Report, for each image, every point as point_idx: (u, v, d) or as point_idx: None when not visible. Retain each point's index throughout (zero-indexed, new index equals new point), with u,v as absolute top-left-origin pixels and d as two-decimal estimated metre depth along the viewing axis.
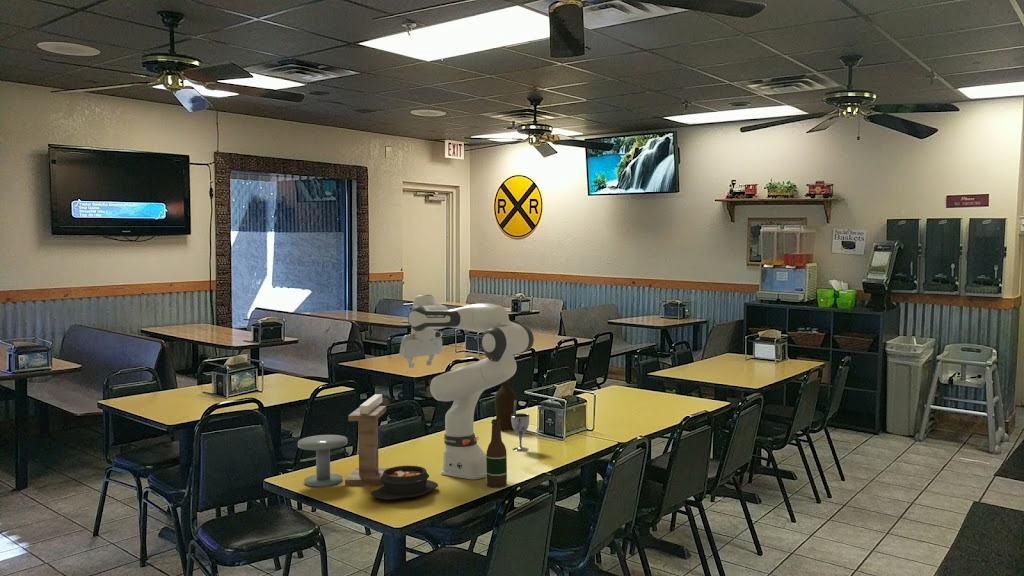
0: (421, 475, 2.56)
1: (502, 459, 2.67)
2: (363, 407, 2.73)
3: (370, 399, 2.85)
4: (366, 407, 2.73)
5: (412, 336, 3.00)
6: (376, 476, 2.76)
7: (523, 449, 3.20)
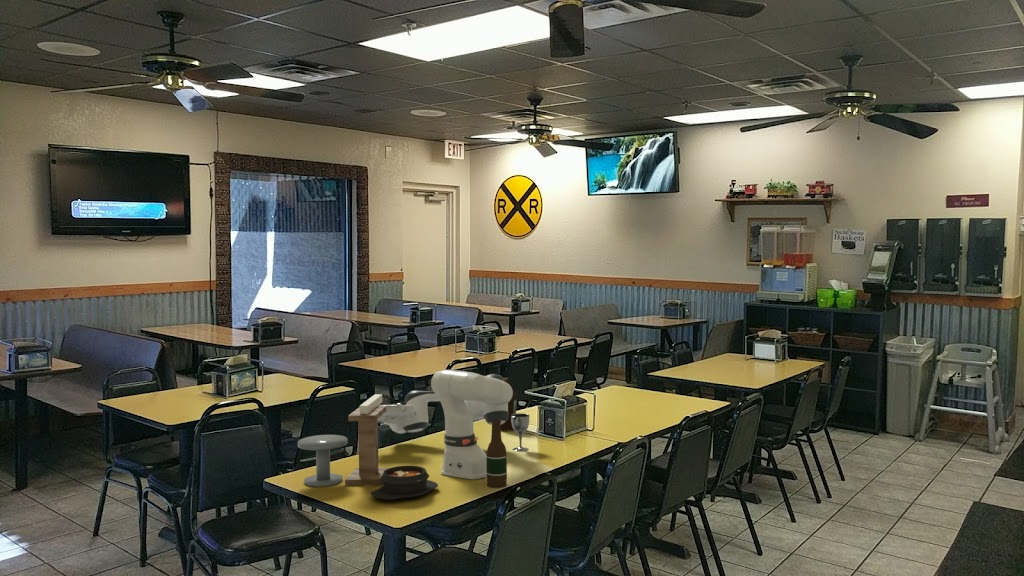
0: (421, 475, 2.56)
1: (502, 459, 2.67)
2: (363, 407, 2.73)
3: (370, 399, 2.85)
4: (366, 407, 2.73)
5: None
6: (376, 476, 2.76)
7: (523, 449, 3.20)
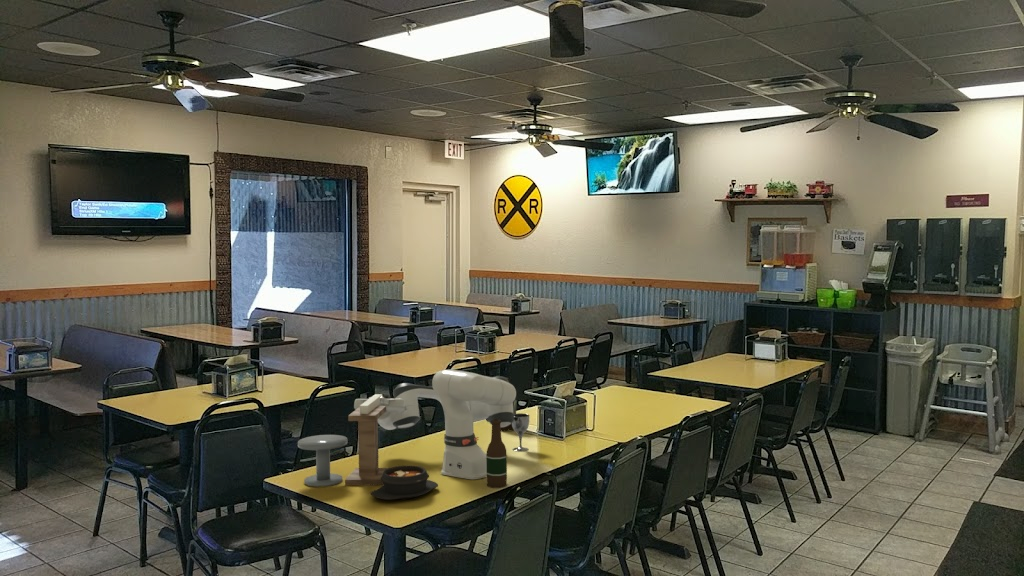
0: (421, 475, 2.56)
1: (502, 459, 2.67)
2: (363, 407, 2.73)
3: (370, 399, 2.85)
4: (366, 407, 2.73)
5: None
6: (376, 476, 2.76)
7: (523, 449, 3.20)
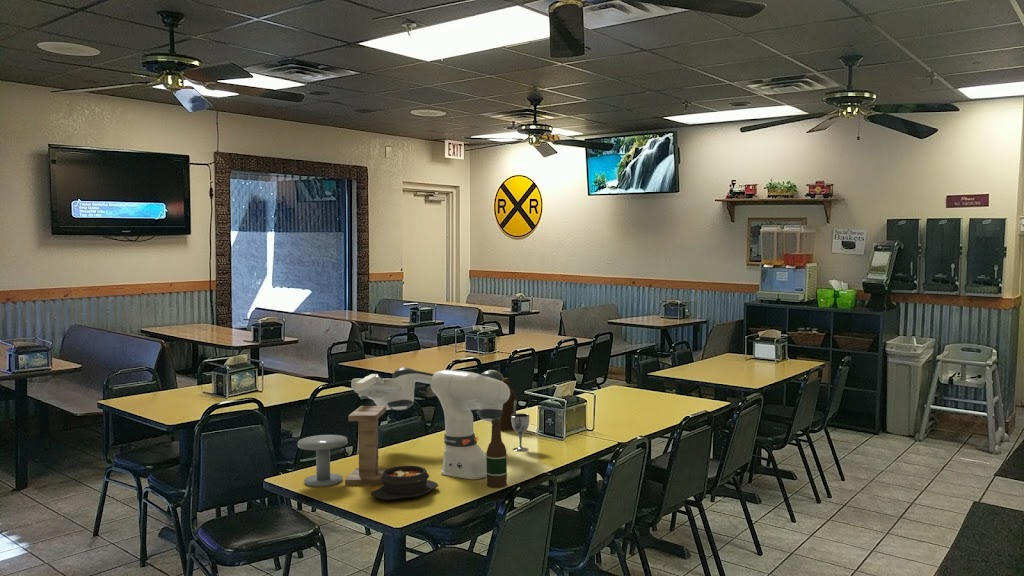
0: (421, 475, 2.56)
1: (502, 459, 2.67)
2: (358, 384, 2.86)
3: (366, 378, 2.99)
4: (361, 384, 2.86)
5: None
6: (376, 476, 2.76)
7: (523, 449, 3.20)
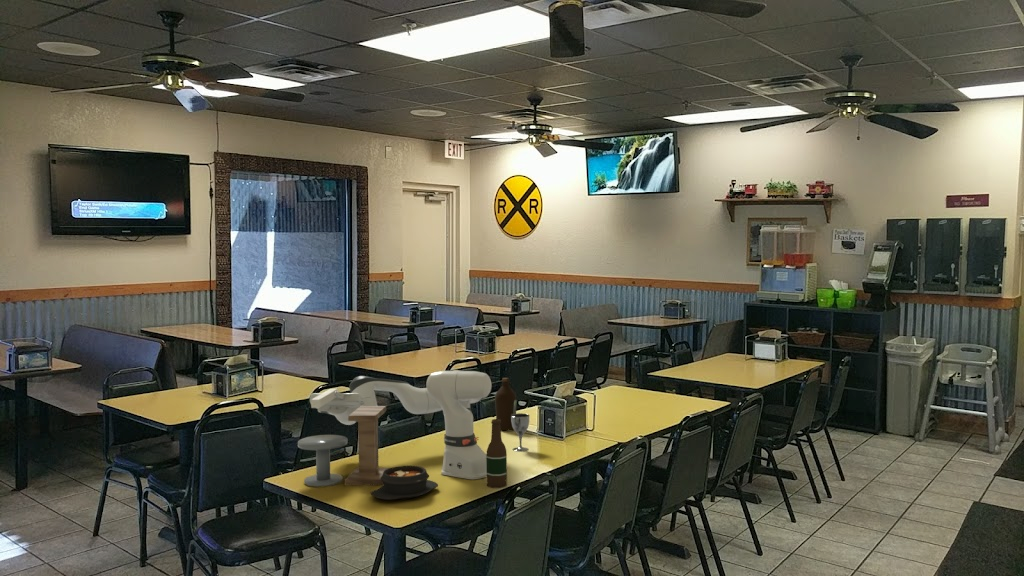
0: (421, 475, 2.56)
1: (502, 459, 2.67)
2: (314, 401, 2.70)
3: (324, 393, 2.82)
4: (317, 401, 2.70)
5: None
6: (376, 476, 2.76)
7: (523, 449, 3.20)
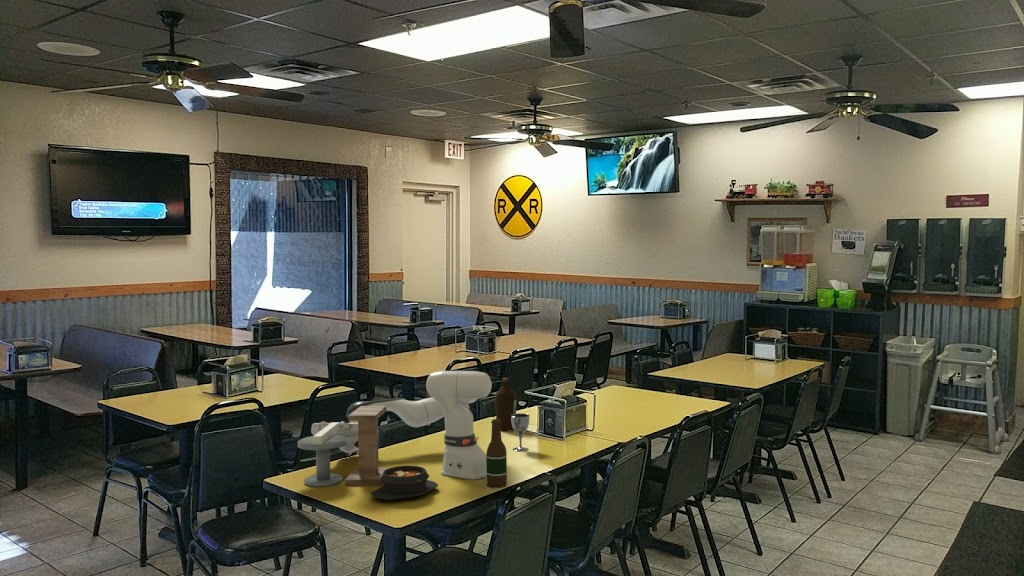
0: (421, 475, 2.56)
1: (502, 459, 2.67)
2: (316, 438, 2.70)
3: (325, 428, 2.83)
4: (319, 438, 2.70)
5: None
6: (376, 476, 2.76)
7: (523, 449, 3.20)
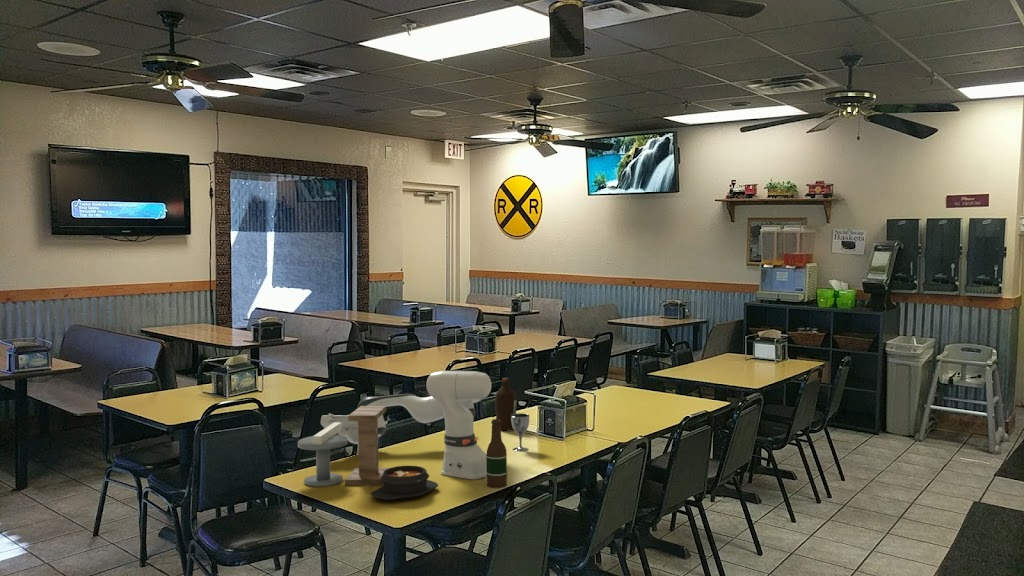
0: (421, 475, 2.56)
1: (502, 459, 2.67)
2: (316, 438, 2.70)
3: (327, 428, 2.83)
4: (319, 438, 2.70)
5: None
6: (376, 476, 2.76)
7: (523, 449, 3.20)
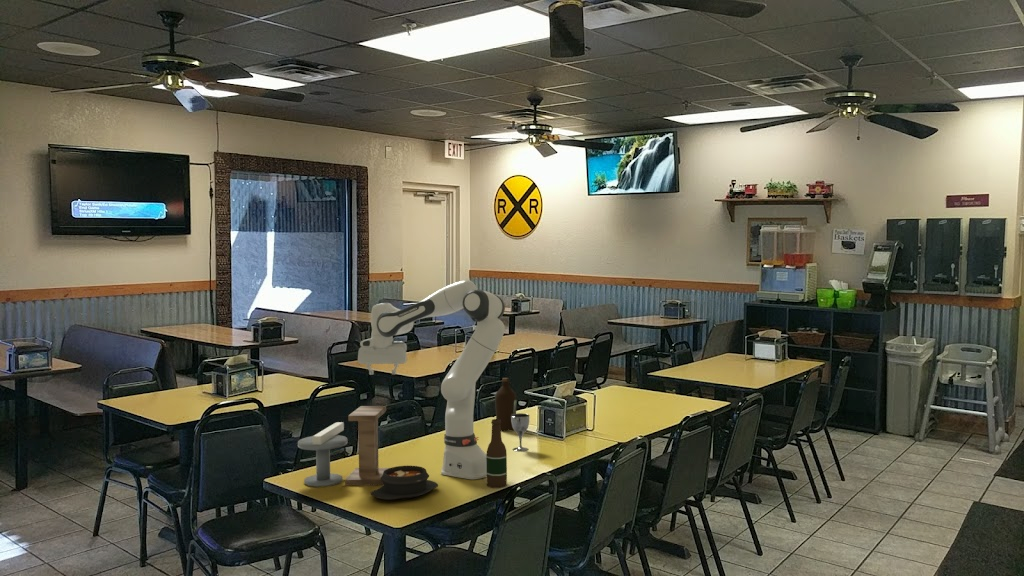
0: (421, 475, 2.56)
1: (502, 459, 2.67)
2: (316, 438, 2.70)
3: (328, 428, 2.83)
4: (319, 438, 2.70)
5: None
6: (376, 476, 2.76)
7: (523, 449, 3.20)
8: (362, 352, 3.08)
